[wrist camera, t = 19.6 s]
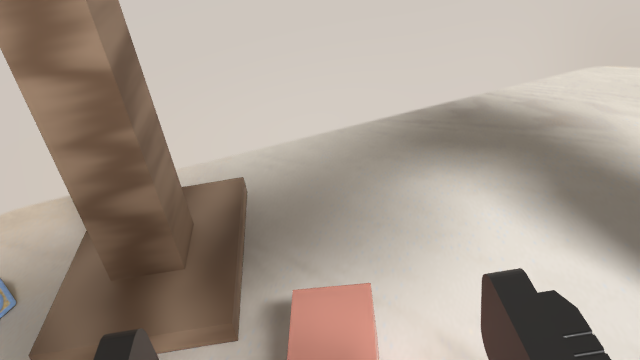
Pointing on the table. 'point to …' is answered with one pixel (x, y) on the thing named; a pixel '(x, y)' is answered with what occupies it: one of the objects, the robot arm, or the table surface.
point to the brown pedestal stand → (122, 190)
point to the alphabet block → (5, 299)
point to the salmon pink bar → (333, 324)
